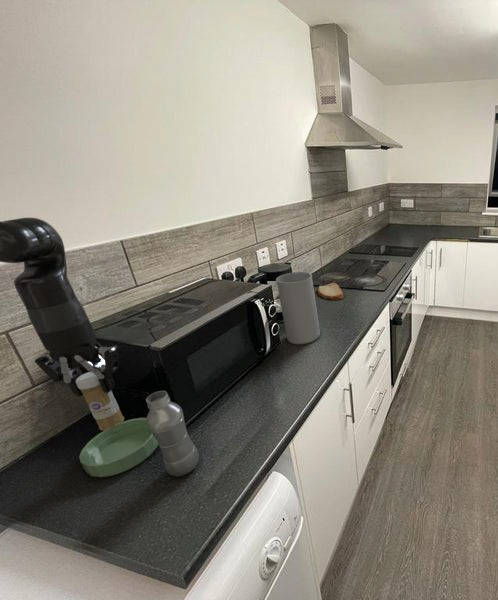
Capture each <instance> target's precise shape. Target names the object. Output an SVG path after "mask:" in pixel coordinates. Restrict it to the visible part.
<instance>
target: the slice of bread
mask: <svg viewBox="0 0 498 600" xmlns="http://www.w3.org/2000/svg"><path fill="white" fill-rule="evenodd" d="M317 294H318V296H319V297H321V298H323V299H326V300H331V301H338V300H342V299H344V297H345V296H344V292H343V290H342V289H341V287H340V286H339V285H338V284H337V283H336V282H330V283H328V284H325V285H319V286H318V287H317Z"/></svg>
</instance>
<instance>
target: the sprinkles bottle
mask: <svg viewBox="0 0 498 600" xmlns="http://www.w3.org/2000/svg"><path fill="white" fill-rule="evenodd" d="M98 379H99V378H98V377H97V376H96V375H95V374H94V373H93V372H89V371H88V372H85V373H83V374H80V375H79V376H78V378H77V379H76V384H77V386H78V388H79V389H80V390H81V391H82V393H83V398H84V400H85V401H86V404H87V406H88V408H89V411H90V412H91V414H92V417H93V418H94V419H95V422H96V424H97V425H98V429H99V430H100V431H101V432H103V431H107V430H111V429H113V428H115V427H117V426H119V425H120V424H121V423H122V422H124V421H125V416H124V415H123V413H122V411H121V409H120V407H119V404H118V402H117V400H116V398H115V395H114V394H113V390H111V391H110V392H107V393H105V392H104V391H103V389H102V386H101V384H100V382H99V380H98Z"/></svg>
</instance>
